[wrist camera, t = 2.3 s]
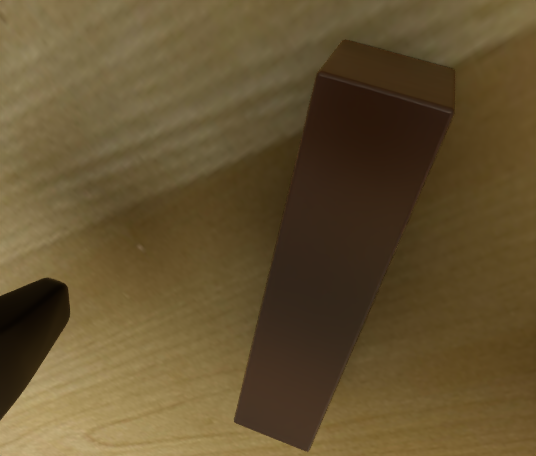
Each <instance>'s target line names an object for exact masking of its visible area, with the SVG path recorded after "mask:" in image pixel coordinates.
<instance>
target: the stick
mask: <svg viewBox="0 0 536 456" xmlns="http://www.w3.org/2000/svg"><path fill="white" fill-rule="evenodd" d="M454 114H455V70H454V69H452V68H448V67H445V66H441V65H437V64H434V63H430V62H426V61H423V60H419V59H415V58H412V57H408V56H404V55H401V54H397V53H393V52H390V51H386V50H382V49H379V48H375V47H371V46H368V45H364V44H361V43H357V42H353V41H350V40H346V39H345V40H342V41H341V43H340V44H339V45H338V46H337V48H336V49H335V50H334V52H333V53H332V54H331V56H330V57H329V58H328V59H327V61H326V62H325V63H324V65H323V66H322V67H321V69H320V70H319V71H318V73H317V74H316V78H315V82H314V87H313V91H312V95H311V99H310V103H309V107H308V112H307V116H306V120H305V124H304V128H303V133H302V137H301V141H300V145H299V149H298V153H297V158H296V162H295V166H294V170H293V174H292V179H291V183H290V187H289V191H288V195H287V200H286V204H285V208H284V212H283V216H282V220H281V225H280V229H279V233H278V237H277V241H276V246H275V250H274V254H273V258H272V262H271V267H270V271H269V275H268V279H267V283H266V287H265V292H264V296H263V300H262V304H261V308H260V313H259V317H258V321H257V325H256V329H255V334H254V338H253V342H252V346H251V350H250V354H249V359H248V363H247V367H246V371H245V375H244V380H243V384H242V388H241V392H240V396H239V400H238V405H237V409H236V413H235V417H234V422H235V423H236V424H239V425H241V426H244V427H246V428H249V429H251V430H254V431H256V432H259V433H261V434H264V435H266V436H269V437H271V438H274V439H276V440H279V441H281V442H284V443H286V444H289V445H291V446H294V447H296V448H299V449H301V450H304V451H307V452H308V451H309V450H310V448H311V446H312V443H313V441H314V439H315V436H316V434H317V432H318V429H319V427H320V425H321V422H322V420H323V418H324V416H325V413H326V411H327V409H328V406H329V404H330V402H331V399H332V397H333V395H334V392H335V390H336V388H337V385H338V383H339V381H340V378H341V376H342V374H343V371H344V369H345V367H346V364H347V362H348V360H349V357H350V355H351V353H352V351H353V348H354V346H355V344H356V341H357V339H358V337H359V334H360V332H361V330H362V327H363V325H364V323H365V320H366V318H367V316H368V313H369V311H370V309H371V306H372V304H373V302H374V299H375V297H376V295H377V292H378V290H379V288H380V286H381V283H382V281H383V279H384V276H385V274H386V272H387V269H388V267H389V265H390V262H391V260H392V258H393V255H394V253H395V251H396V248H397V246H398V244H399V241H400V239H401V237H402V234H403V232H404V230H405V227H406V225H407V223H408V221H409V218H410V216H411V214H412V211H413V209H414V207H415V204H416V202H417V200H418V197H419V195H420V193H421V190H422V188H423V186H424V183H425V181H426V179H427V176H428V174H429V172H430V169H431V167H432V165H433V162H434V160H435V158H436V156H437V153H438V151H439V149H440V146H441V144H442V142H443V139H444V137H445V135H446V132H447V130H448V128H449V125H450V123H451V121H452V118H453V116H454Z"/></svg>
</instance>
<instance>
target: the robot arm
mask: <svg viewBox="0 0 536 456" xmlns="http://www.w3.org/2000/svg"><path fill="white" fill-rule="evenodd" d="M69 317H70V304H69V293H68V287H67V286H66V284H64V283H62V282H60V281H57V280H54V279H52V278H43V279H40V280H38V281H36V282H33V283H31V284H28V285H26V286H23V287H21V288H19V289H16V290H14V291H11V292H9V293H6V294H4V295H1V296H0V420H1V419H2V418H3V416H4V415H5V414H6V413H7V411H8V410H9V409H10V408H11V406H12V405H13V404H14V403H15V401H16V400H17V399H18V397H19V396H20V395H21V394H22V392H23V391H24V389H25V388H26V387H27V385H28V384H29V382H30V381H31V379H32V378H33V376H34V374H35V373H36V371H37V370H38V368H39V367H40V365H41V363H42V362H43V360H44V359H45V357H46V356H47V354H48V353H49V351H50V349H51V348H52V346H53V345H54V343H55V342H56V340H57V338H58V337H59V335H60V334H61V332H62V331H63V329H64V328H65V326H66V324H67V322H68V320H69Z"/></svg>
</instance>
